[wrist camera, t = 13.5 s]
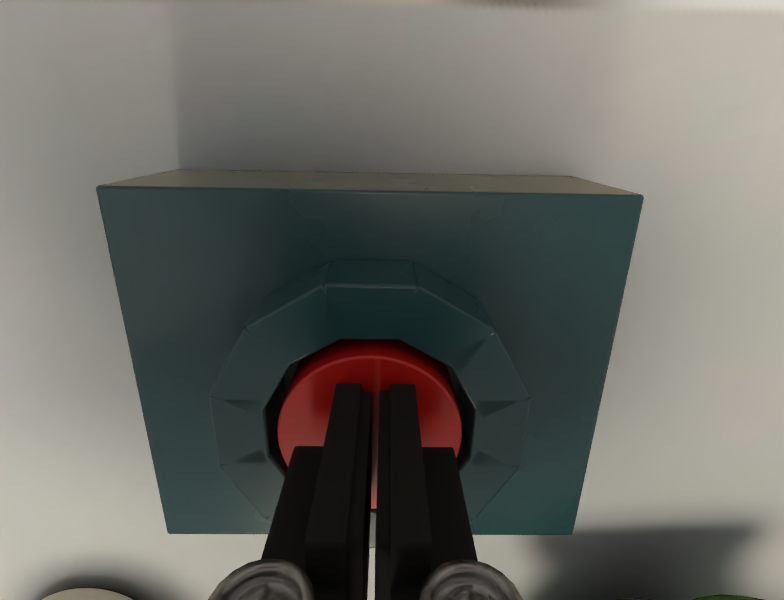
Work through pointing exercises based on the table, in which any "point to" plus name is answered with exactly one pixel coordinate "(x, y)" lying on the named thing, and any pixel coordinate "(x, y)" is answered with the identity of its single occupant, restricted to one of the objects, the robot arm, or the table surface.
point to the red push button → (376, 372)
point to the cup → (86, 595)
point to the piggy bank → (712, 598)
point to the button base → (369, 322)
